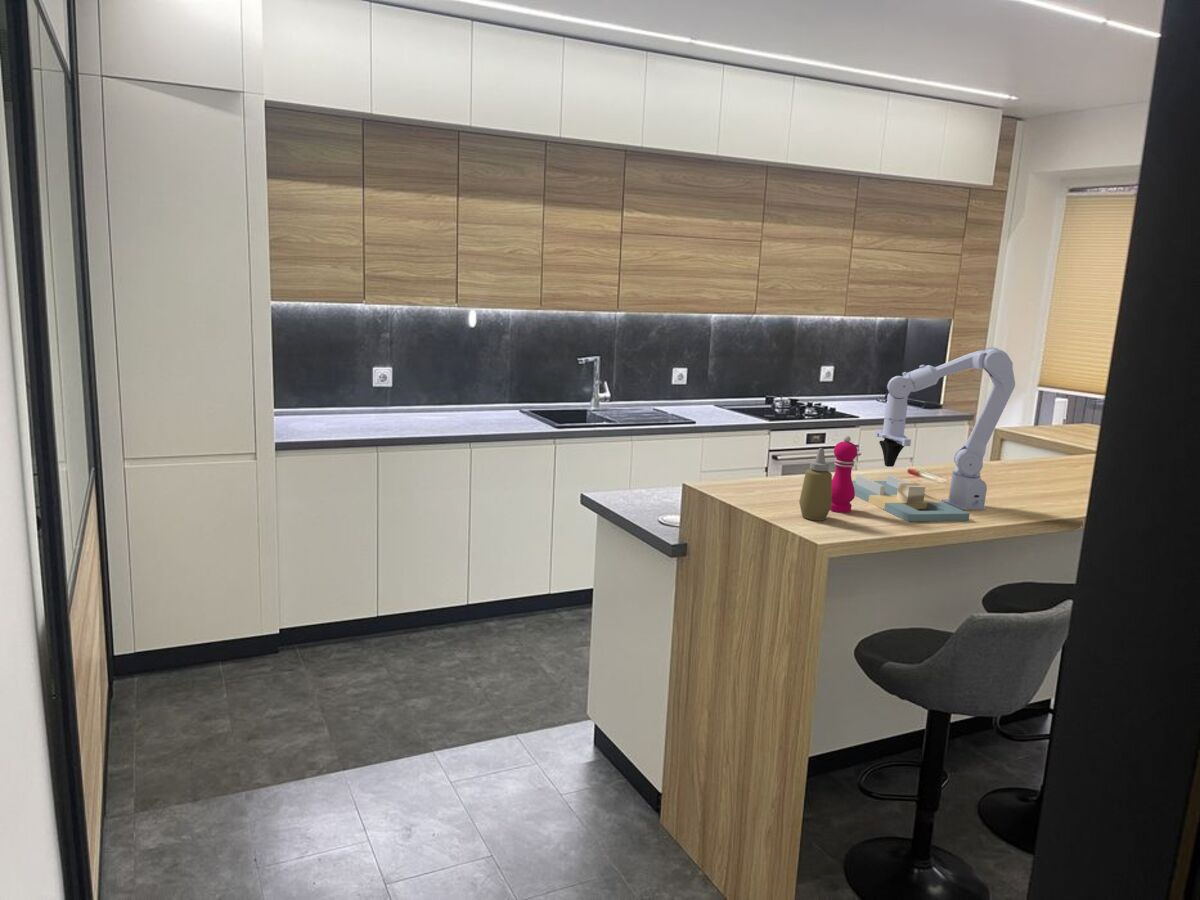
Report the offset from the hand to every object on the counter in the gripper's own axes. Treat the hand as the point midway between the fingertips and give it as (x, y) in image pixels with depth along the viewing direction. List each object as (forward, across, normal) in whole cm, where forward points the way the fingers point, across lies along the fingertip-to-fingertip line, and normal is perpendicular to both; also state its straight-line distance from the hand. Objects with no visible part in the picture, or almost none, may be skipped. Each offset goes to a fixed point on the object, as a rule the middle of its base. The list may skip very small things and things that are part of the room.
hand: (889, 466), depth 247 cm
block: (+7, +12, 0) cm, 14 cm away
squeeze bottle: (+9, +20, -33) cm, 40 cm away
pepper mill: (+9, +13, -22) cm, 27 cm away
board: (+9, +7, 0) cm, 12 cm away
